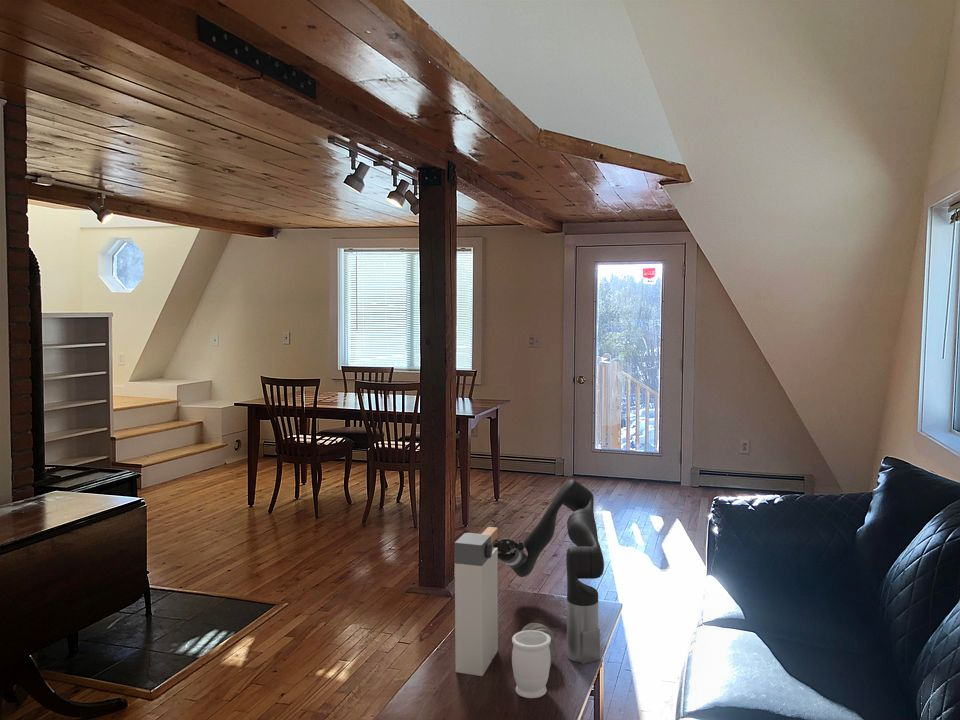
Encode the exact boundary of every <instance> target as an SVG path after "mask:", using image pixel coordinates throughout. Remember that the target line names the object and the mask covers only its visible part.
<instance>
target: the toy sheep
mask: <svg viewBox="0 0 960 720" xmlns="http://www.w3.org/2000/svg"><path fill="white" fill-rule="evenodd" d="M526 630H536V631H541V632H544V633H546V634H548V635H549V636H550V638H551V642H550V644H549V648H550V656H551V657H553V655H554V653H555V651H556V647H557V646H556V645H557V643H556V638H555V636H554V633H553V631H552V630H551V629H550V628H549V627H547V626H545V625H544V624H542V623H538V622H530V623H528V624H526V625H525V626H523V628H522V629H521V630H520V632H521V631H526ZM551 667H552V662H551V663H550V668H551Z"/></svg>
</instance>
